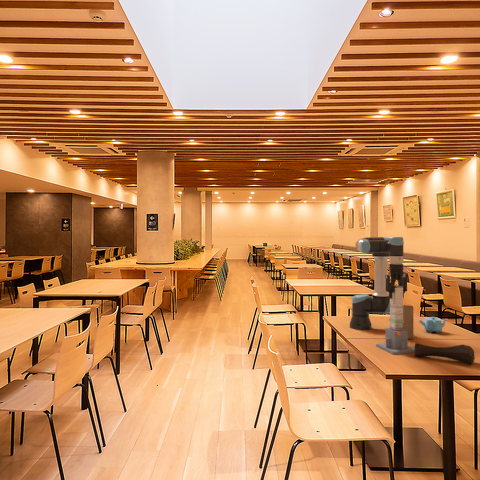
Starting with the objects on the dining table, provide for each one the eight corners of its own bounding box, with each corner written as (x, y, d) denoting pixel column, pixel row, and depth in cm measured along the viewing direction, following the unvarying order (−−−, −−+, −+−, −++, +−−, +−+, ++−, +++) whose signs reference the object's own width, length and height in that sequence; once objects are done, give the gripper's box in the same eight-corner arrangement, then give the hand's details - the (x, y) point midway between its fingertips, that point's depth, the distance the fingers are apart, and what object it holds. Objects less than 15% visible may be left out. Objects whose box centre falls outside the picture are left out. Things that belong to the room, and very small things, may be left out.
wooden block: (413, 336, 242) (413, 305, 242) (413, 339, 233) (413, 308, 233) (396, 334, 247) (396, 304, 247) (396, 338, 238) (396, 306, 238)
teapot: (420, 333, 250) (420, 318, 250) (417, 328, 263) (417, 314, 263) (450, 335, 245) (450, 319, 245) (445, 330, 258) (445, 315, 258)
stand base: (376, 346, 220) (376, 326, 220) (399, 344, 223) (399, 325, 223) (392, 354, 204) (392, 333, 204) (418, 352, 208) (418, 331, 208)
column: (388, 331, 216) (388, 285, 216) (397, 330, 217) (397, 284, 217) (395, 333, 210) (395, 286, 210) (404, 333, 211) (404, 286, 211)
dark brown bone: (476, 367, 190) (416, 365, 203) (473, 346, 194) (414, 346, 208) (476, 362, 181) (413, 360, 195) (473, 341, 186) (412, 340, 200)
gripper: (386, 264, 208) (386, 305, 208) (414, 263, 212) (414, 304, 212) (378, 263, 215) (378, 303, 215) (405, 262, 219) (405, 302, 219)
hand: (396, 303), depth 214 cm, fingers closed on column, 5 cm apart
